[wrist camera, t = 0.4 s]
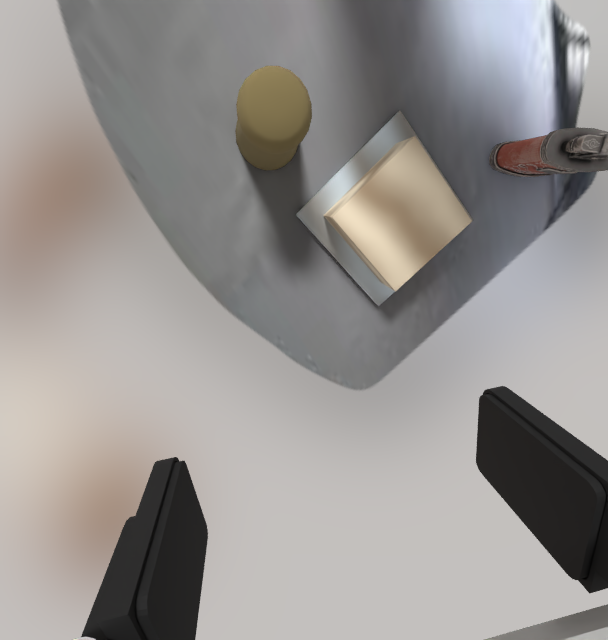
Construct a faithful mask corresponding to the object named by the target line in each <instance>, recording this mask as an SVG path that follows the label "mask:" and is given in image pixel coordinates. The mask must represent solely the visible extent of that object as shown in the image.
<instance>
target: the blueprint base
mask: <svg viewBox="0 0 608 640" xmlns="http://www.w3.org/2000/svg"><path fill="white" fill-rule="evenodd" d="M295 215H296V216H297V217H298V218H299V219H300V220H301V221H302V222H303V224H304V225H305V226H306V227H307V228H308V229H309V230H310V231H311V232H312V234H313V235H314V236H315V237H316V238H317V239H318V240H319V241H320V242H321V244H322V245H323V246H324V247H325V248H326V249H327V250H328V251H329V252H330V254H331V255H332V256H333V257H334V258H335V259H336V260H337V261H338V262H339V264H340V265H341V266H342V267H343V268H344V269H345V270H346V271H347V272H348V274H349V275H350V276H351V277H352V278H353V279H354V280H355V281H356V282H357V284H358V285H359V286H360V287H361V288H362V289H363V290H364V291H365V292H366V294H367V295H368V296H369V297H370V298H371V299H372V300H373V301H374V302H375V304H376V305H377V306H380V305H381V304H382V303H383V302H384V301H385V300H386V299H387V298H388V297H390V296H391V295H392V294H393V293H394V292H395V291H397V290H398V289H399V288H400V287H401V286H402V285H403V284H404V283H405V282H406V281H408V280H409V279H410V278H411V277H412V276H413V275H414V274H415V273H416V272H417V271H418V270H420V269H421V268H422V267H423V266H424V265H425V264H426V263H427V262H428V261H429V260H431V259H432V258H433V257H434V256H435V255H436V254H437V253H438V252H439V251H440V250H441V249H443V248H444V247H445V246H446V245H447V244H448V243H449V242H450V241H451V240H452V239H453V238H455V237H456V236H457V235H458V234H459V233H460V232H461V231H462V230H463V229H464V228H465V227H467V226H468V225H469V224H470V223H471V222H472V221H473V219H472V217H471V216H470V214H469V213H468V211H467V210H466V208H465V207H464V205H463V204H462V202H461V201H460V199H459V198H458V196H457V195H456V193H455V192H454V190H453V189H452V187H451V186H450V184H449V183H448V181H447V180H446V178H445V177H444V175H443V174H442V172H441V171H440V169H439V168H438V166H437V165H436V163H435V162H434V160H433V159H432V157H431V156H430V154H429V153H428V151H427V150H426V148H425V147H424V145H423V144H422V142H421V141H420V139H419V138H418V136H417V135H416V133H415V132H414V130H413V129H412V127H411V126H410V124H409V123H408V121H407V120H406V118H405V117H404V115H403V114H402V112H401V111H399V112H397V113H396V114H395V115H394V116H393V117H392V118H391V119H390V120H389V121H388V122H387V123H386V124H385V125H384V126H383V127H382V128H381V129H380V130H379V131H378V132H377V133H376V134H375V135H374V136H373V137H372V138H371V139H370V140H369V141H368V142H367V143H366V144H365V145H364V146H363V147H362V148H361V149H360V150H359V151H358V152H357V153H356V154H355V155H354V156H353V157H352V158H351V159H350V160H349V161H348V162H347V163H346V164H345V165H344V166H343V167H342V168H341V169H340V170H339V171H338V172H337V173H336V174H335V175H334V176H333V177H332V178H331V179H330V180H329V181H328V182H327V183H326V184H325V185H324V186H323V187H322V188H321V189H320V190H319V191H318V192H317V193H316V194H315V195H314V196H313V197H312V198H311V199H310V200H309V201H308V202H307V203H306V204H305V205H304V206H303V207H302V208H301V209H300V210H299V211H298V212H297V213H296V214H295Z"/></svg>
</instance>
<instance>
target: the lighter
mask: <svg viewBox="0 0 608 640" xmlns="http://www.w3.org/2000/svg"><path fill="white" fill-rule="evenodd" d="M489 162H490V166H491V168H493V169H494V170H496V171H499V172H502V173H504V174H508V175H513V176H518V177H536V176H545V175H551V174H570V173H576V172H596V171H604V170H608V132H606V131H602V130H598V129H594V128H593V129H592V128H570V129H561V130H557V131H553V132H550V133H549V134H548V135H545V136H541V137H536V138H531V139H527V140H522V141H510V142H504V143H500V144H497V145H496V146H495V147H494V148H493V149H492V151H491V154H490V158H489Z"/></svg>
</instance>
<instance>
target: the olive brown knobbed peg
mask: <svg viewBox="0 0 608 640" xmlns="http://www.w3.org/2000/svg"><path fill="white" fill-rule="evenodd" d="M236 105H237V116H238V120H237V125H236V142H237V145H238V147H239V150H240V152H241V154H242V155H243V156H244V158H245V159H246V160H247V161H248V162H249V163H250V164H252V165H253V166H255V167H256V168H260V169H263V170H276V169H279V168H281V167H284V166H285V165H286V164H287V163H288V162H290V161H291V160H292V158H293V156H294V154H295V153H296V151H297V147H298V144H299V143H300V142H301V141H302V140H303V139H304V137H305V135H306V134H307V132H308V130H309V127H310V123H311V119H312V109H311V101H310V98H309V95H308V91H307V89H306V87H305V86H304V84H303V83H302V81H301V80H300V78H298V77H297V76H296V75H295V74H294V73H293V72H291V71H290V70H288V69H285V68H282V67H280V66H266V67H263V68H260V69H258V70H255V71H254V72H253V73H252V74H251V75H250V76H249V77H248V78H246V79H245V81H244V83H243V85H242V87H241V88H240V90H239V94H238V99H237V104H236Z"/></svg>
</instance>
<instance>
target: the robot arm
mask: <svg viewBox="0 0 608 640" xmlns="http://www.w3.org/2000/svg"><path fill="white" fill-rule="evenodd" d="M476 463H477V466H478V469H479V470H480V472H481V473H482V474H483V476H484V477H485V478H486V479H487V480H488V482H489V483H490V484H491V485H492V486H493V487H494V489H495V490H496V491H497V492H498V493H499V494H500V495H501V497H502V498H503V499H504V500H505V502H506V503H507V504H508V505H509V506H510V507H511V509H512V510H513V511H514V512H515V513H516V514H517V515H518V516H519V518H520V519H521V520H522V522H523V523H524V524H525V525H526V526H527V527H528V529H530V531H531V532H532V533H533V534H534V535H535V537H536V538H537V539H538V540H539V541H540V543H541V544H542V545H543V546H544V547H545V549H547V551H548V552H549V553H550V554H551V555H552V557H553V558H554V559H555V560H556V561H557V563H558V564H559V565H560V566H561V567H562V568H563V570H564V571H565V572H566V573H567V574H568V575H569V576H570V577H571V578H572V579H575V580H578V581H579V582H580V583H581V584H582V585H583V586H584V587H585V589H586V590H587V591H588V592H589V593H593V592H596V591H599V590H603V589H606V588H608V461H607V460H606V459H605V458H603V457H602V456H601V455H599V454H597V453H596V452H595V451H594V450H592V449H591V448H590V447H588V446H587V445H585V444H584V443H583V442H581V441H580V440H578V439H577V438H576V437H574V436H573V435H572V434H570V433H569V432H567V431H566V430H565V429H563V428H562V427H561V426H559V425H558V424H556V423H555V422H554V421H552V420H551V419H550V418H548V417H547V416H546V415H544V414H543V413H541V412H540V411H539V410H537V409H536V408H535V407H533V406H532V405H530V404H529V403H528V402H526V401H525V400H524V399H522V398H521V397H519V396H518V395H517V394H515V393H514V392H512V391H511V390H510V389H508V388H507V387H504V386H501V387H496V388H491V389H487V390H485V391H484V393H483V395H482V396H480V399H479V415H478V434H477V453H476ZM207 539H208V532H207V525H206V522H205V519H204V516H203V513H202V510H201V507H200V504H199V501H198V498H197V495H196V492H195V489H194V486H193V483H192V480H191V477H190V474H189V471H188V468H187V465H186V463H185V461H180V462H179V460H178V458H177V457H174V458H170V459H165V460H160V461H157V462H155V464H154V466H153V470H152V472H151V474H150V477H149V480H148V483H147V486H146V488H145V491H144V494H143V497H142V499H141V502H140V505H139V508H138V511H137V513H136V516H134V517H130V518H129V519H128V520H127V521H126V523H125V525H124V527H123V530H122V532H121V535H120V538H119V540H118V543H117V545H116V548H115V550H114V553H113V556H112V558H111V561H110V563H109V566H108V569H107V571H106V574H105V577H104V579H103V582H102V584H101V587H100V589H99V592H98V595H97V597H96V600H95V602H94V605H93V607H92V611H91V613H90V615H89V618H88V620H87V623H86V626H85V628H84V631H83V634H82V636H81V638H75V639H73V640H195V636H196V628H197V620H198V612H199V604H200V596H201V587H202V580H203V572H204V563H205V555H206V547H207ZM486 640H608V605H604V606H601V607H597V608H593V609H590V610H586V611H583V612H580V613H576V614H573V615H569V616H565V617H562V618H558V619H555V620H551V621H548V622H544V623H541V624H537V625H534V626H530V627H527V628H523V629H520V630H517V631H513V632H509V633H506V634H503V635H499V636H496V637H492V638H489V639H486Z"/></svg>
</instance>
